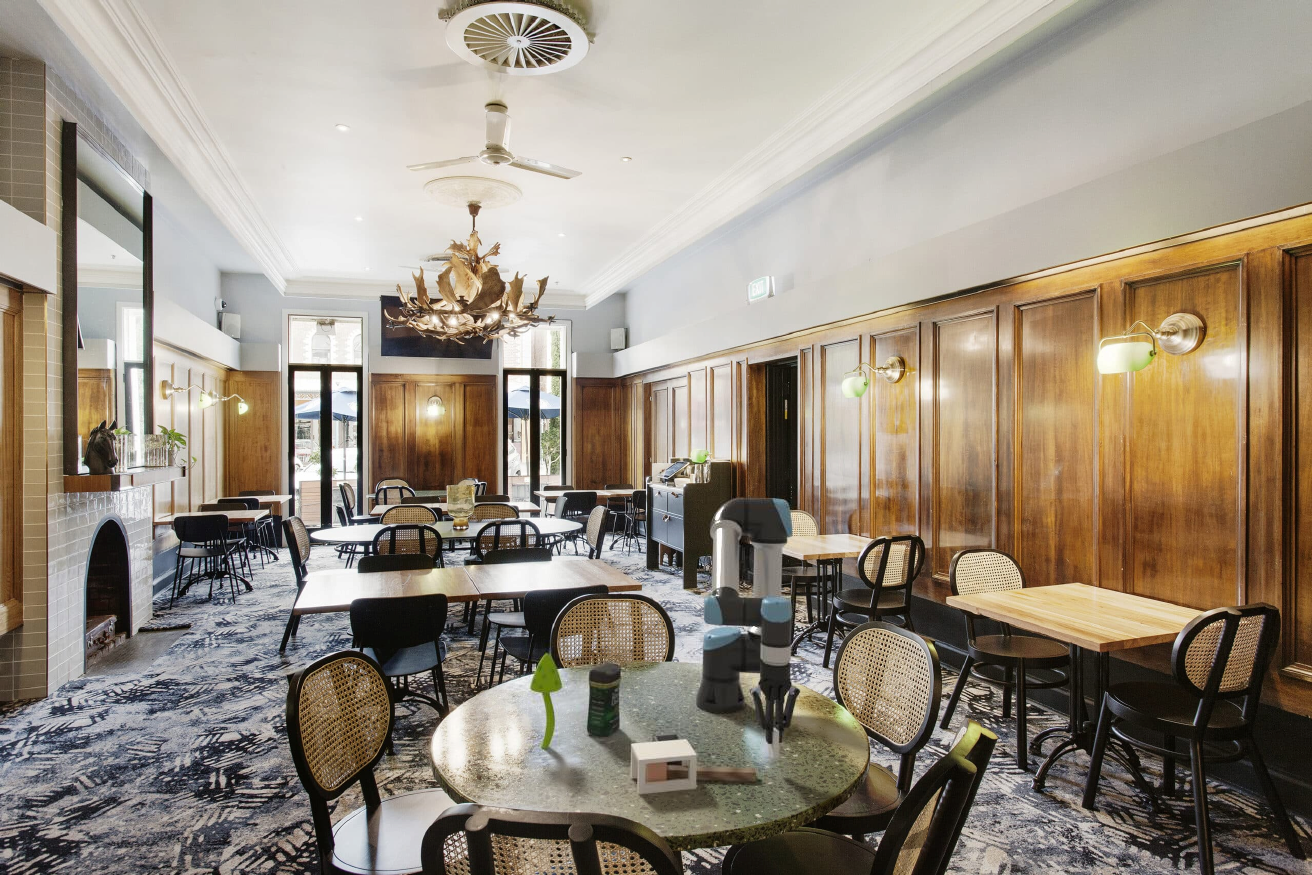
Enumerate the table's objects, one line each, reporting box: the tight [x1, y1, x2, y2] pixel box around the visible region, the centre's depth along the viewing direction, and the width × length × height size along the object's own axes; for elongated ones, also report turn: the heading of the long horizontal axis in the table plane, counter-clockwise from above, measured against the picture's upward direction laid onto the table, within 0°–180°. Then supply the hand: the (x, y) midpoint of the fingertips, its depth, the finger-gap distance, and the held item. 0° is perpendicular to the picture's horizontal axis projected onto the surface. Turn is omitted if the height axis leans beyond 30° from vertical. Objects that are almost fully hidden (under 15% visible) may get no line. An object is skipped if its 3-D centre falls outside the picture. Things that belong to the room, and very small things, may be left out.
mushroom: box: [529, 652, 563, 750], centre depth 188 cm, size 8×8×25 cm
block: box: [645, 762, 667, 783], centre depth 170 cm, size 4×4×6 cm
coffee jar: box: [586, 661, 622, 738], centre depth 199 cm, size 10×8×19 cm
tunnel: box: [630, 732, 698, 795], centre depth 173 cm, size 14×15×8 cm
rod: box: [666, 765, 757, 783], centre depth 173 cm, size 22×2×2 cm, turn 89°
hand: (773, 755), depth 176 cm, fingers closed
